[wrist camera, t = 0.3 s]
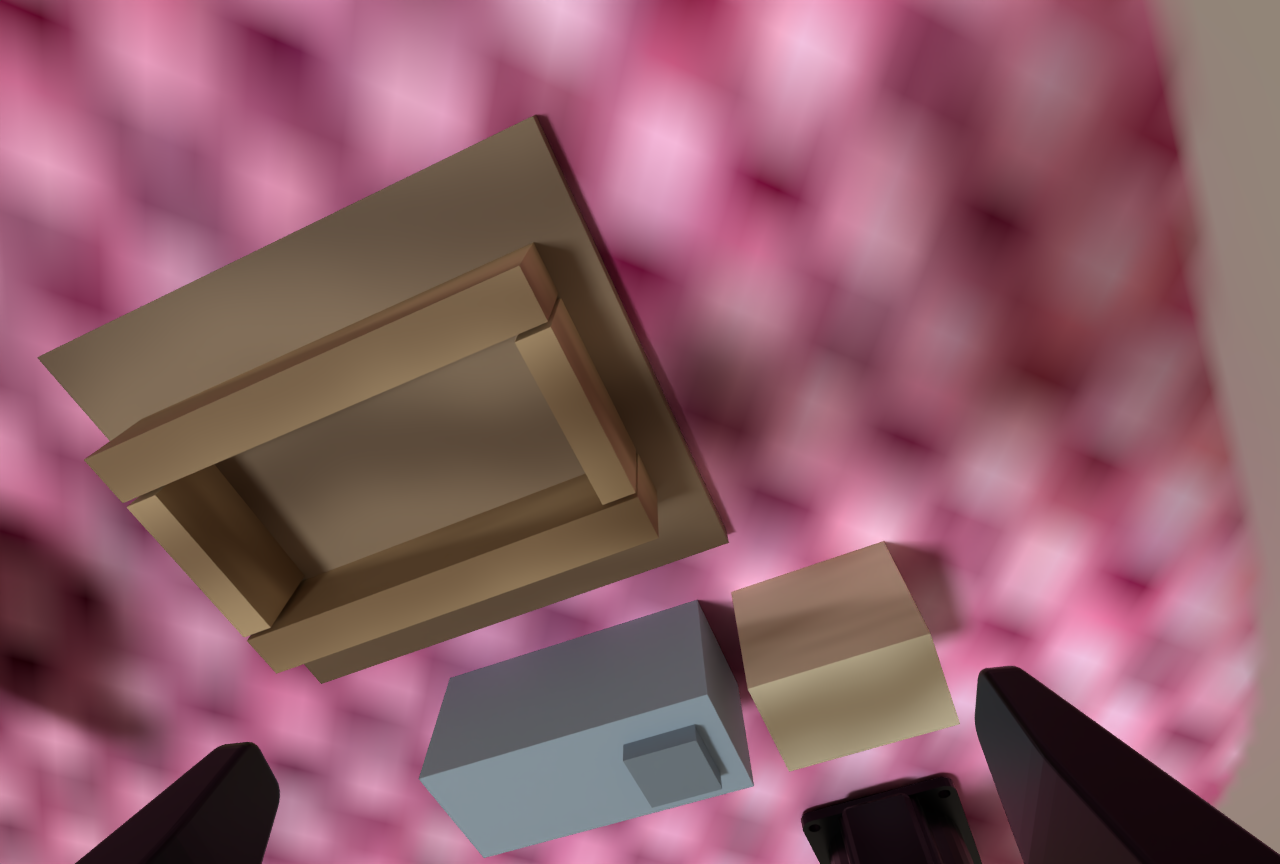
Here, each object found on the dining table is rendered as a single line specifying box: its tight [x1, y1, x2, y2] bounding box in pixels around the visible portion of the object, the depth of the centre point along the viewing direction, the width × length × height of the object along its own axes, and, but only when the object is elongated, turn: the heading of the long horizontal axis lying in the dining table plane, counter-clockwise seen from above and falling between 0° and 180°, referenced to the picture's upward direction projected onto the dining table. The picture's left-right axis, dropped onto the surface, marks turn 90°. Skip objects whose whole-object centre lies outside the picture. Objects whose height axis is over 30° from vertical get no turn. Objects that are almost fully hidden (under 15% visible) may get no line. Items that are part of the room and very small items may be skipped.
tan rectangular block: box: [731, 541, 960, 772], centre depth 24 cm, size 4×6×4 cm
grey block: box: [419, 600, 754, 858], centre depth 25 cm, size 4×10×5 cm, turn 112°
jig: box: [37, 115, 729, 684], centre depth 21 cm, size 14×16×3 cm
